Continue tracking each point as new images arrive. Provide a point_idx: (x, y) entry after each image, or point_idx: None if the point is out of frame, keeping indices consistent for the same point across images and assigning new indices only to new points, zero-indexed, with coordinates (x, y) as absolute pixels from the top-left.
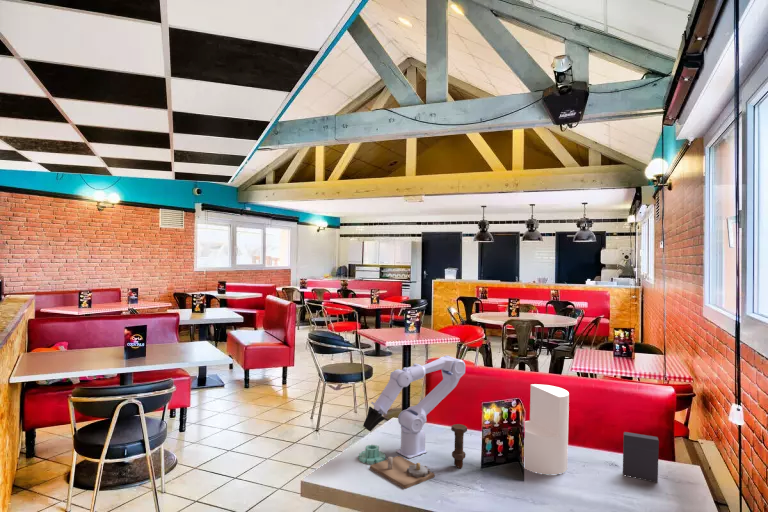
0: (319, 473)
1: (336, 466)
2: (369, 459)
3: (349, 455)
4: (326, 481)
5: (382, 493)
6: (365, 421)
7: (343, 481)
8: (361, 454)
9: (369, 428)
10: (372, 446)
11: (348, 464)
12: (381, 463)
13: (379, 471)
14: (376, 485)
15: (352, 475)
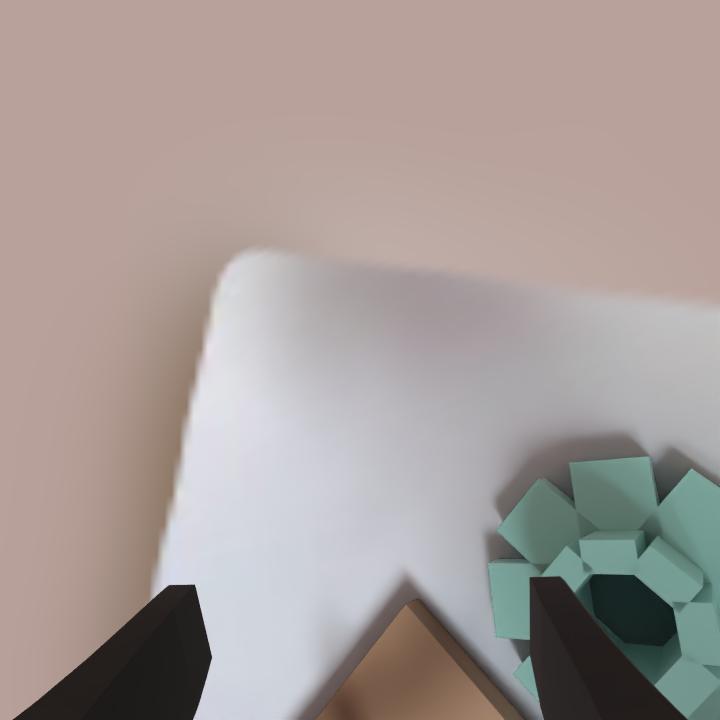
0: (296, 274)
1: (399, 331)
2: (516, 587)
3: (634, 353)
4: (228, 354)
5: None
6: (110, 650)
7: (238, 446)
8: (615, 484)
9: (536, 654)
10: (679, 626)
11: (449, 406)
12: (463, 716)
13: (339, 690)
14: (223, 662)
15: (305, 482)
